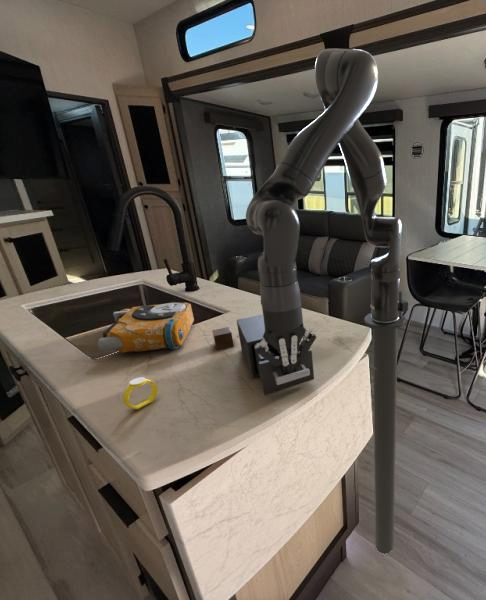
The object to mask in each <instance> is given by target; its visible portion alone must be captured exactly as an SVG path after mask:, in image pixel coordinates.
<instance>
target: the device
mask: <svg viewBox="0 0 486 600" xmlns="http://www.w3.org/2000/svg"><path fill="white" fill-rule="evenodd" d="M112 314H113V317H114V320H115V321H114V322H113V323H112V324H111V325H110V326H109V327H108V328H106V330H104V331H103V332H102V337H101V338H99V339H98V340H97V348H98V349H99V351H101V352H102V351H111V350H115V351H118V352H120V353H131V352H145V351H154V350H162V349H170V350H177V349H178V348H179V347H181V346H182V345H183V343H184V341H185V340H186V339H187V336H188V334H189V332H190V331H191V327H192V325H193V324H194V321H195V318H194V313H193V309H192V305H191V303H189V302H167V303H160V304H150V305H140V306H139V305H138V306H132V307H131V308H124V309H121V310H120V311H113V313H112Z"/></svg>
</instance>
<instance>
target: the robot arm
mask: <svg viewBox="0 0 486 600" xmlns="http://www.w3.org/2000/svg"><path fill="white" fill-rule="evenodd" d="M314 78H315V82H316V84H315V85H316V87H317V91H318V93H319V97H320V99H321V103H322V104H323V107H324V111H323V113H322V114H320V115H319V116H318V117H317V118H316V119H315V120H313V121H311V123H309V124H308V125H307V126H306V127H304V128H302V130H301V131H300V132H298V133H297V134H296V136H294V138H293V139H292V140H291V141H290V143H289V144H288V146H287V147H286V149H285V151H284V153H283V154H282V157H281V158H280V160H279V161H278V164H277V165H276V167H275V170H274V171H273V173H272V174H271V175H270V176H269V178H268V179H266V181H265V182H264V183H263V184H262V185H261V187H260V188H259V189H258V190H257V192H255V194H254V195H253V197H252V198H251V200H250V201H249V204H248V205H247V208H246V211H245V222H246V225H247V227H248V229H249V230H250V231H251V232H252V233H253V234H255V235H258V236H260V237H262V238H263V252H261V253H260V254H259V255H258V256H257V270H258V277H259V284H260V285H259V286H260V292H259V293H260V295H259V296H260V305H261V310H262V315H263V318H264V325H265V332H264V335H263V338H264V339H263V340H262V341H261V342H260V343H256V344H255V345H254V348H255V350H256V352H257V353H258V354H259V355H261V356H262V357H264V358H265V359H266V360H268V361H269V362H271V363H272V364H273V365H275V366H278V365H281V368H282V374H283V376H284V375H288V374H291V373H294V372H297V368H296V362H297V360H299V359H303V358H304V357H305V355H306V353H307V352H308V350H309V349H311V347H312V345H313V344H314V342H316V339H317V335H316V334H315V333H314V332H313V331H312V330H307V328H306V326H305V325H304V317H303V308H302V298H301V297H302V296H301V289H300V285H299V281H298V279H299V278H298V268H297V261H296V259H297V254H298V248H299V242H300V232H301V225H300V220H299V215H298V213H297V210H296V209H295V207H294V204H296V202H297V201H299V200H302V199H305V198H306V197H307V196H308V195H309V194H310V192H311V190H312V189H313V187H314V185H315V183H316V181H317V179H318V177H319V176H320V174H321V172H322V170H323V168H324V167H325V165H326V163H327V161H328V159H329V158H330V157H331V155H332V153H333V152H334V150H335V149H336V148H337V147H338V146H339V148H340V151H341V153H342V157H343V160H344V164H345V167H346V171H347V174H348V177H349V181H350V184H351V187H352V190H353V193H354V196H355V199H356V202H357V206H358V210H359V213H360V218H361V223H362V229H363V233H364V237H365V240H366V242H367V244H368V245H369V246H370V247H372V248H373V247H374V248H384V249H385V248H386V249H388V251H387V253H386V254H384V255H381V256H378V257H374V258H373V259H372V260H371V261H370V302H371V304H369V307H370V310H371V311H370V313H371V319H372V321H374V322H376V323H380V324H391V323H395V322H397V321H398V320H399V319H401V316H402V315H403V316H405V315H406V313H407V312H408V311H409V301H406V300H405V299H403V292H402V291H401V290H400V289H401V288H400V285H401V284H400V283H401V280H400V279H401V273H400V272H401V253H402V252H401V251H402V250H401V249H402V239H403V225H402V220H401V219H400V218H399V216H398V217H397V216H380V215H379V216H377V215H376V211H375V209H376V207H377V204H378V203H379V201H380V199H381V197H382V196H383V194H384V191H385V189H386V186H387V181H388V178H387V171H386V166H385V162H384V158H383V156H382V153H381V151H380V149H379V147H378V146H377V144H376V142H375V141H374V140H373V139H372V137H371V136H370V135H369V133H368V131H366V129H365V128H364V126H363V125H362V123H361V122H360V120H359V119H360V117H361V116H362V115H363V113H364V112H365V111H366V110H367V109H368V107H369V106H370V104H371V103H372V101H373V99H374V98H375V95H376V92H377V89H378V84H379V71H378V65H377V62H376V60H375V58H374V57H373V55H372V54H371V53H370V52H368V51H365V50H363V49H356V48H335V47H334V48H325V49H323V50H321V51H320V52H319V53H318V55H317V57H316V60H315V65H314ZM300 341H301V344H300V345H299V343H300ZM267 344H269V345H270V346H272V347H273V348H274V349H275V350H277V351H278V353H279V357H277V356H275V355H274V354H273V353H271V352H270V351H269V350H268V349H269V348H268V346H267ZM298 345H299V347H298V348H297V346H298ZM287 350H288V354H287ZM287 356H288V357H287Z"/></svg>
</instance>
